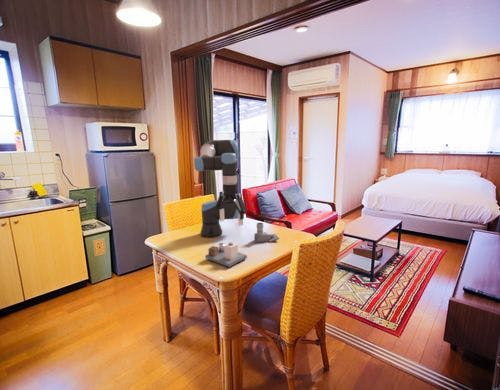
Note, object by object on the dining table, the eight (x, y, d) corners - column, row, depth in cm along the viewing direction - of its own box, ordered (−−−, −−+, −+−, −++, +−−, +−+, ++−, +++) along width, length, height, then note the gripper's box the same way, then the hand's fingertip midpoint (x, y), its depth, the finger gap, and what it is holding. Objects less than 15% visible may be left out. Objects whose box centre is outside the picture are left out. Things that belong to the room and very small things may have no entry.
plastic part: (224, 257, 148) (224, 243, 146) (231, 254, 151) (230, 241, 150) (231, 259, 144) (230, 245, 143) (237, 256, 148) (237, 243, 147)
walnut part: (208, 255, 151) (208, 248, 150) (212, 252, 154) (212, 246, 153) (215, 256, 149) (214, 249, 148) (218, 253, 153) (218, 247, 152)
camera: (253, 222, 179) (275, 220, 182) (253, 239, 182) (275, 237, 184) (256, 225, 171) (279, 224, 174) (256, 243, 173) (279, 242, 176)
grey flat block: (205, 259, 151) (205, 255, 151) (223, 251, 162) (223, 247, 161) (229, 268, 140) (229, 264, 140) (247, 259, 151) (246, 255, 150)
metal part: (217, 251, 156) (217, 244, 156) (222, 249, 159) (221, 242, 158) (222, 252, 154) (221, 246, 153) (226, 250, 157) (226, 244, 156)
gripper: (208, 182, 147) (210, 220, 152) (243, 186, 132) (244, 229, 136) (218, 180, 153) (220, 217, 157) (253, 184, 137) (253, 225, 141)
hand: (231, 223), depth 147 cm, fingers open, 13 cm apart
